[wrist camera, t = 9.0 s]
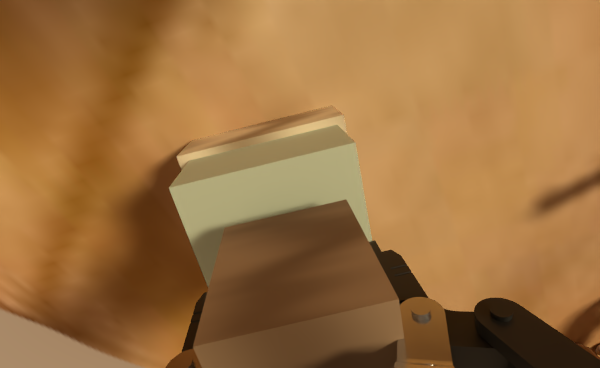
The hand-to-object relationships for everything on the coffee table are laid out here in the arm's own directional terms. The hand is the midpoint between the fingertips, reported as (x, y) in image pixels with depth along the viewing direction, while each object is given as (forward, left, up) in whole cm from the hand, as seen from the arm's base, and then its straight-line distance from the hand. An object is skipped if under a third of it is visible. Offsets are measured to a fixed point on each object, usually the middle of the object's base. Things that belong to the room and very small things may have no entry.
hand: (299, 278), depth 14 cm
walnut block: (0, 0, -1) cm, 1 cm away
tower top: (+1, 0, -6) cm, 6 cm away
